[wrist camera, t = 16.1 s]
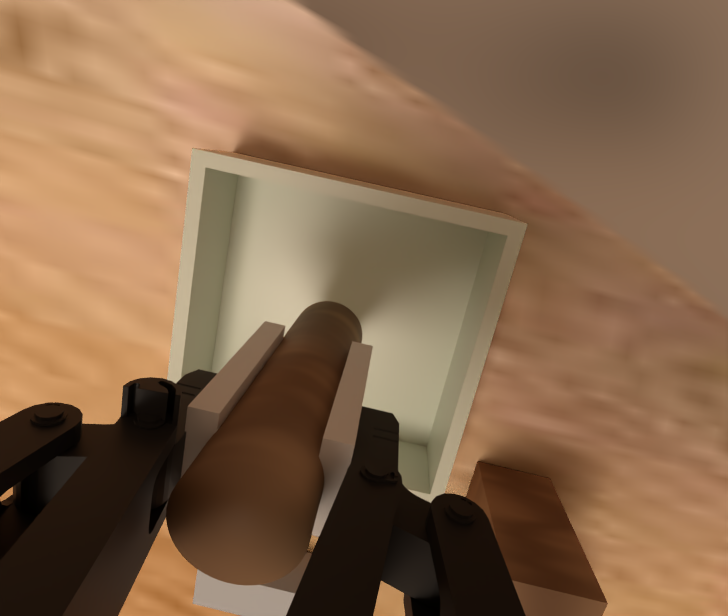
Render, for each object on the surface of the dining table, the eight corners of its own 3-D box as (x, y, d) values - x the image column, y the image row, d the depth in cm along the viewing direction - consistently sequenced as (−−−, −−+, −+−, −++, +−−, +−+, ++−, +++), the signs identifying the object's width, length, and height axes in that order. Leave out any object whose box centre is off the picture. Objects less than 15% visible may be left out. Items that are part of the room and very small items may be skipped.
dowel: (369, 309, 21) (323, 482, 10) (354, 372, 22) (296, 599, 10) (300, 294, 21) (173, 446, 10) (289, 357, 22) (159, 566, 10)
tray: (504, 213, 23) (527, 224, 19) (434, 452, 27) (439, 508, 22) (232, 152, 23) (192, 147, 19) (200, 397, 27) (160, 441, 23)
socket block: (389, 472, 27) (387, 508, 24) (355, 596, 30) (350, 642, 27) (232, 435, 28) (212, 466, 25) (213, 562, 30) (192, 603, 27)
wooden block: (549, 478, 27) (607, 603, 19) (527, 537, 28) (573, 677, 20) (477, 461, 27) (506, 579, 19) (458, 521, 28) (477, 654, 20)
